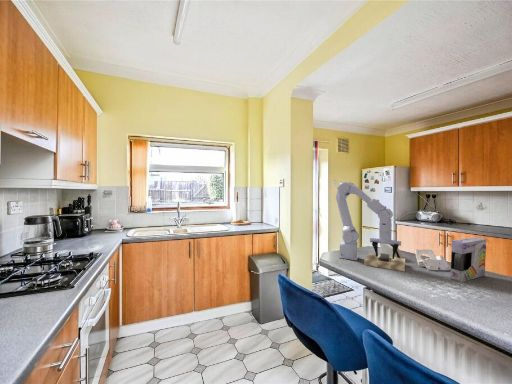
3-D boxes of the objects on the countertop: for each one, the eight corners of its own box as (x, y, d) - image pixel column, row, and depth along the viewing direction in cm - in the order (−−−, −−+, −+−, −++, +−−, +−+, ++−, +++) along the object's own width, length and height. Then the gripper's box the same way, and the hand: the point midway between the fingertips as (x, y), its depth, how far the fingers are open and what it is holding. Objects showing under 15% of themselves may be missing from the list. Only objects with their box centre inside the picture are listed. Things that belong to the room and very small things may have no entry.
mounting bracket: (443, 271, 124) (437, 250, 128) (452, 270, 118) (445, 247, 123) (419, 270, 125) (414, 249, 129) (426, 269, 119) (421, 247, 123)
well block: (364, 264, 128) (364, 259, 128) (368, 258, 139) (368, 253, 138) (404, 271, 118) (404, 265, 118) (405, 264, 129) (405, 258, 129)
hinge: (405, 260, 136) (399, 243, 136) (397, 263, 136) (391, 246, 136) (390, 252, 152) (384, 237, 152) (383, 255, 152) (377, 240, 152)
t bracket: (379, 266, 126) (379, 255, 126) (381, 262, 132) (381, 251, 132) (388, 267, 124) (388, 256, 124) (389, 264, 130) (389, 253, 129)
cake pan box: (460, 283, 104) (461, 242, 103) (447, 278, 108) (448, 239, 108) (486, 277, 111) (487, 238, 111) (473, 273, 116) (474, 236, 115)
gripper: (369, 231, 128) (368, 256, 129) (400, 234, 121) (400, 261, 121) (371, 229, 134) (370, 253, 135) (401, 232, 126) (401, 258, 127)
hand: (385, 257), depth 128 cm, fingers open, 7 cm apart
